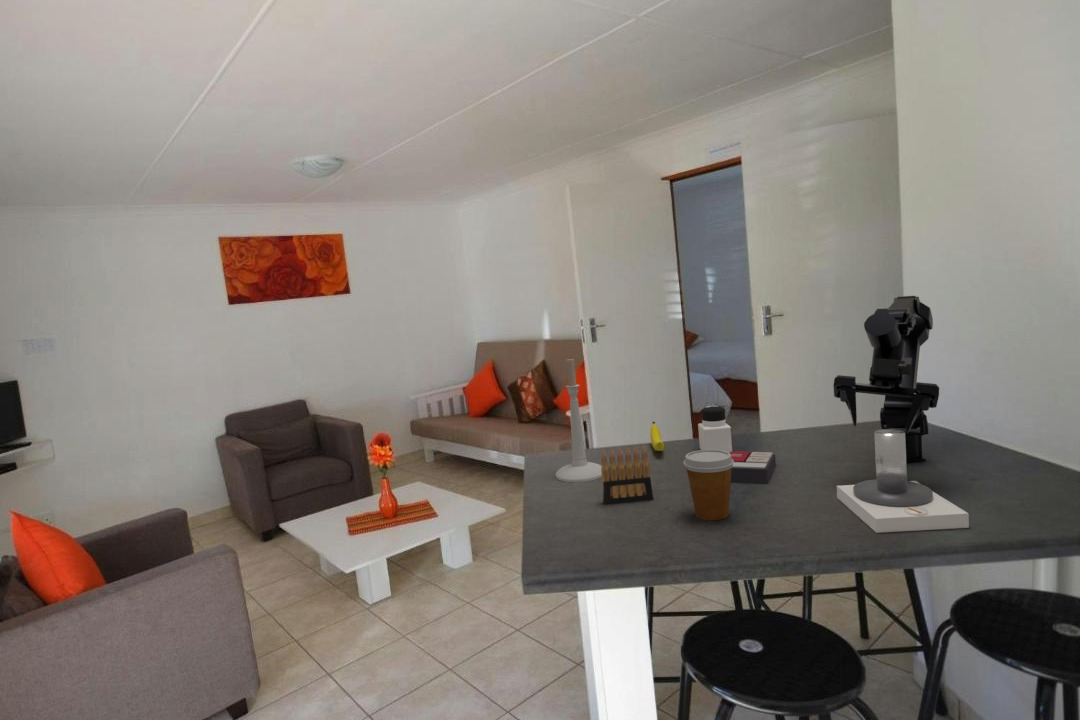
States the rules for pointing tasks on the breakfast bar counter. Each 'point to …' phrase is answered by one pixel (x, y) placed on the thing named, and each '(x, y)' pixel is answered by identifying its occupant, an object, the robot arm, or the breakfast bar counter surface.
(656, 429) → the banana
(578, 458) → the candlestick
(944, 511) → the kitchen scale
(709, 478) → the disposable coffee cup
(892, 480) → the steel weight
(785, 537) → the breakfast bar counter surface
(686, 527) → the breakfast bar counter surface
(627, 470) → the ammunition clip
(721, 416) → the medicine bottle
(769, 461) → the calculator
